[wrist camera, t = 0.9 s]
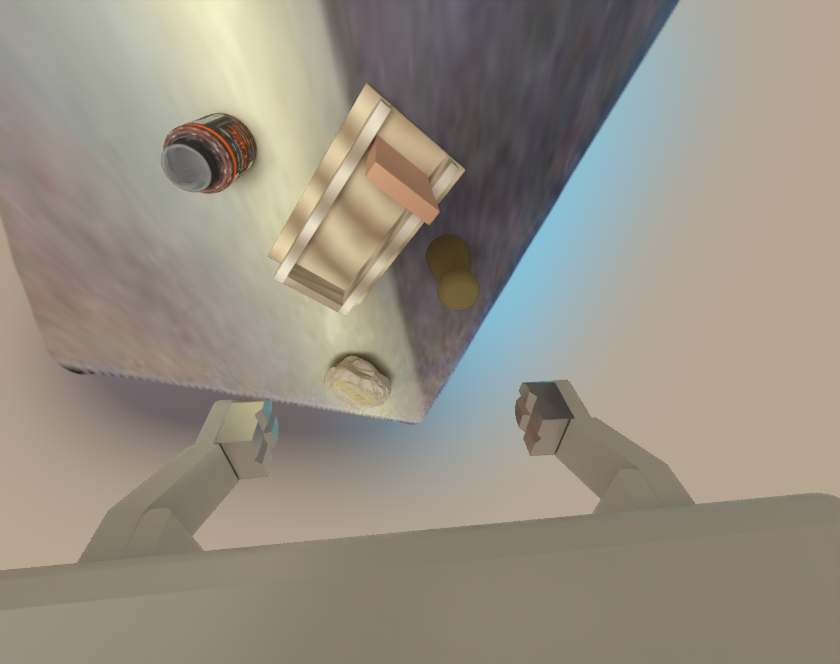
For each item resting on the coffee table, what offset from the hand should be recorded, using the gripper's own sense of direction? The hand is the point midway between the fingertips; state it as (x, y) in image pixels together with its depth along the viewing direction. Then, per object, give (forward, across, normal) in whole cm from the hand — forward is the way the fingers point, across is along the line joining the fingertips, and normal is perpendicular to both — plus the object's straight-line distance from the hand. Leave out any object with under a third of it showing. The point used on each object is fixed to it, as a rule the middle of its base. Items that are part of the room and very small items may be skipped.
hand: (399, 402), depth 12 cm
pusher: (+37, -2, +1) cm, 37 cm away
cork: (+39, -9, +13) cm, 42 cm away
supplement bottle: (+38, +17, -1) cm, 42 cm away
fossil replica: (+39, +6, +35) cm, 53 cm away
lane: (+38, +3, +7) cm, 39 cm away
